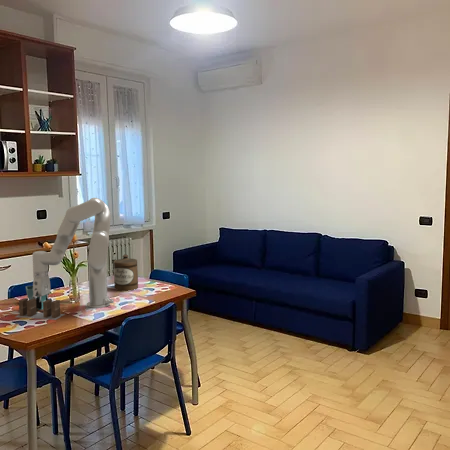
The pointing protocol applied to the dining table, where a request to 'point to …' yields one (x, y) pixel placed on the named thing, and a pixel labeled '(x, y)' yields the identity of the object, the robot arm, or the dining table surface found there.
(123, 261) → the wooden container
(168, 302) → the dining table surface
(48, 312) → the domino
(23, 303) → the domino
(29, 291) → the flower pot
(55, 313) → the domino
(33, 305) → the domino
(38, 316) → the felt runner
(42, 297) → the teal domino
